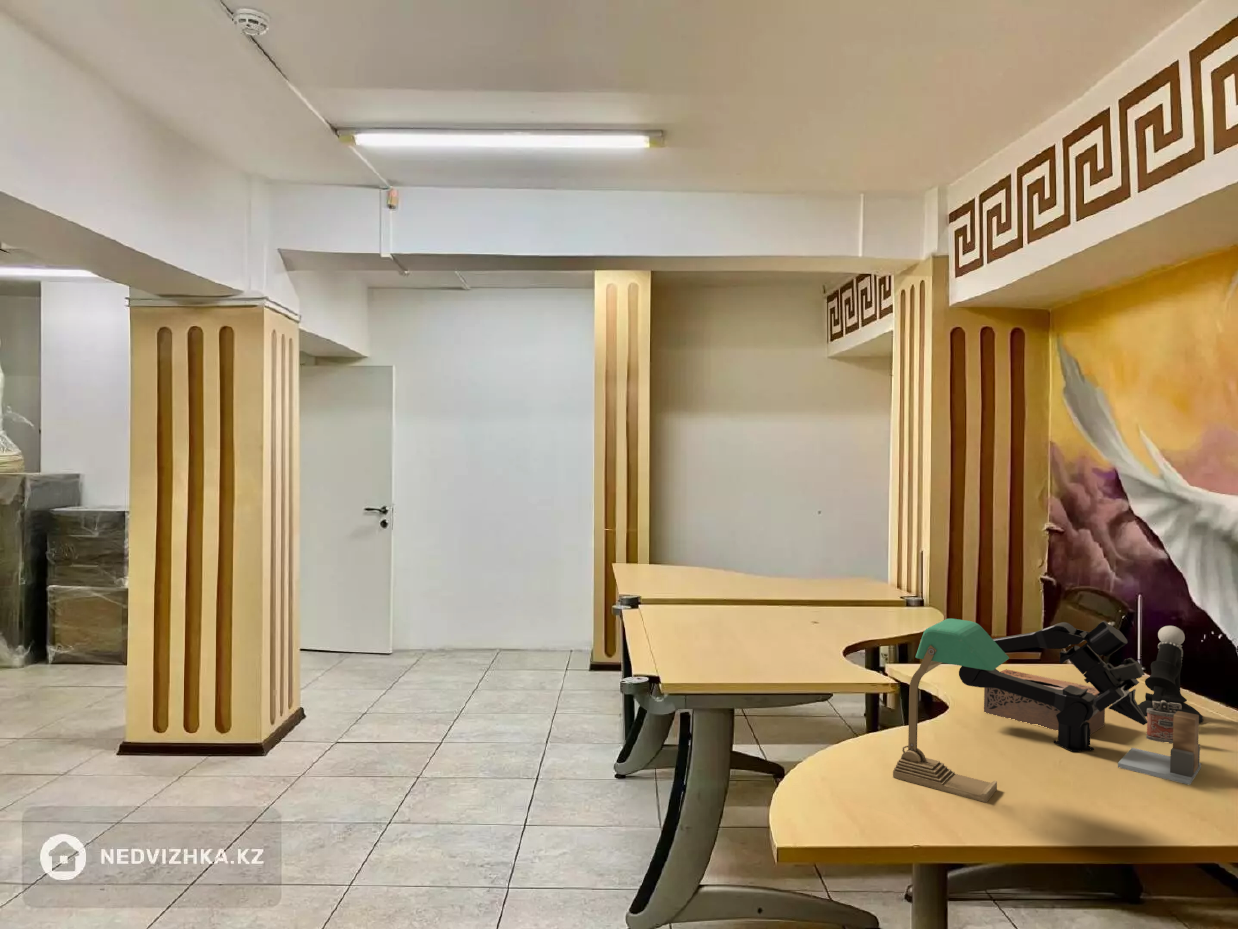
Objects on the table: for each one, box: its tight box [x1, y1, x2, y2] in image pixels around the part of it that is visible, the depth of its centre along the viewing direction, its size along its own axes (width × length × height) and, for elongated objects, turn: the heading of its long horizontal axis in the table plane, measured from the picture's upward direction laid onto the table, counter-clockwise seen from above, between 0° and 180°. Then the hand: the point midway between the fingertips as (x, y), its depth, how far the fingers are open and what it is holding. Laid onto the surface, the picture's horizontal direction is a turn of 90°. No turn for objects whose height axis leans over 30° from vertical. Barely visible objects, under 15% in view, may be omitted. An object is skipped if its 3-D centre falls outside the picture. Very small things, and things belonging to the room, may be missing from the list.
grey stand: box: [1117, 743, 1202, 786], centre depth 183 cm, size 14×14×6 cm
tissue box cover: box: [983, 668, 1106, 736], centre depth 217 cm, size 26×14×10 cm, turn 42°
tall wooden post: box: [1172, 711, 1200, 773], centre depth 180 cm, size 4×5×12 cm
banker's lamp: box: [892, 618, 1010, 803], centre depth 172 cm, size 16×21×35 cm
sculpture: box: [1138, 625, 1204, 724], centre depth 218 cm, size 15×24×25 cm, turn 134°
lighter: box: [1145, 700, 1182, 744], centre depth 201 cm, size 8×3×10 cm, turn 62°
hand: (1145, 723), depth 185 cm, fingers closed
